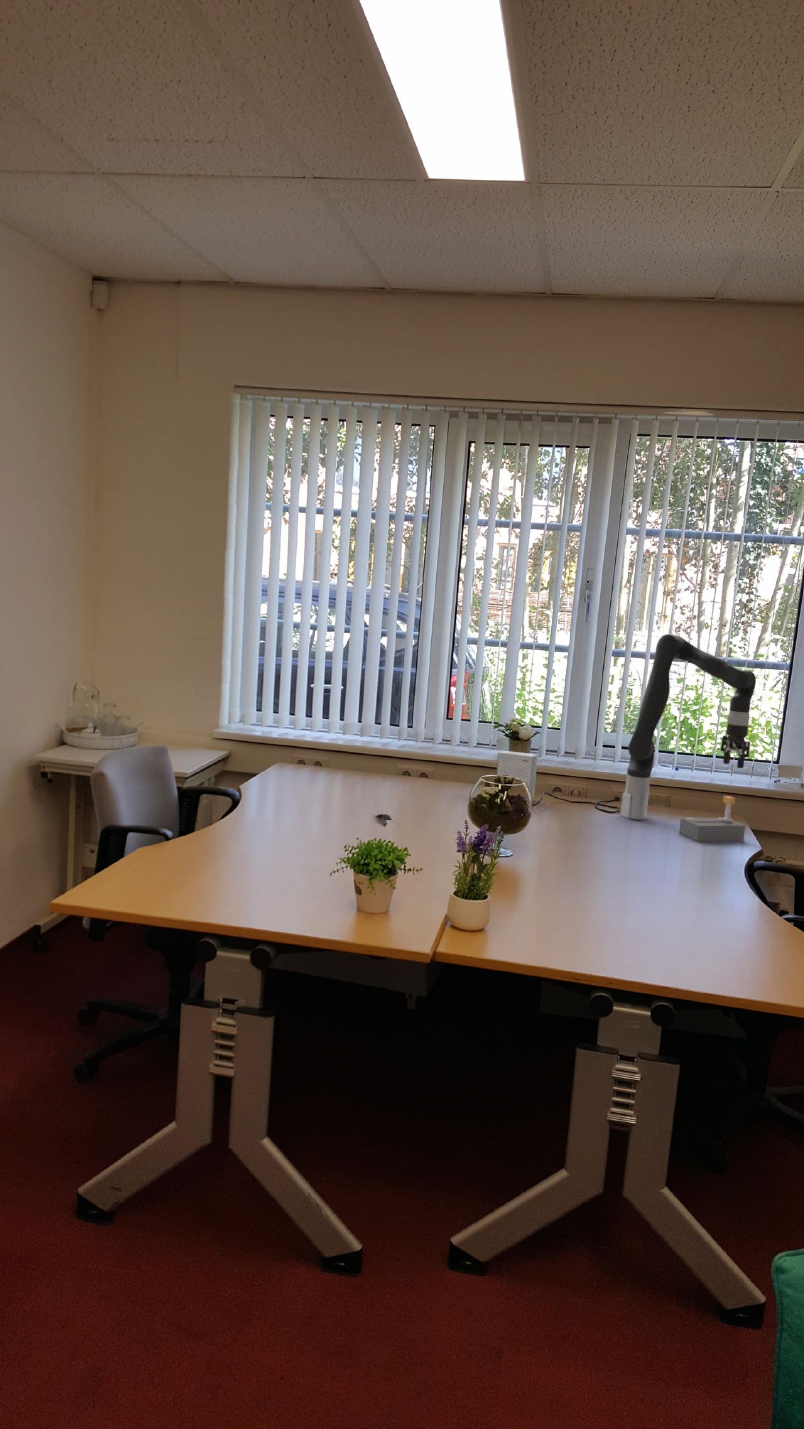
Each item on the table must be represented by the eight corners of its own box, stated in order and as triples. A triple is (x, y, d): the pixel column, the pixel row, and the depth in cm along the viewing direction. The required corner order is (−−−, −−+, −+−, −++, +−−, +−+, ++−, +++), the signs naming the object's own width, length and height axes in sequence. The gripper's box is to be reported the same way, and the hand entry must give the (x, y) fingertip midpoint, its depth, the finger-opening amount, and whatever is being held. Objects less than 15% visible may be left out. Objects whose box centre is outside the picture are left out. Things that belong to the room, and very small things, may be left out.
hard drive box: (534, 801, 408) (538, 754, 406) (529, 804, 401) (533, 757, 399) (499, 795, 415) (503, 749, 412) (493, 798, 408) (497, 752, 405)
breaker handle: (726, 822, 364) (729, 798, 363) (720, 820, 368) (722, 795, 367) (733, 822, 365) (736, 798, 364) (726, 820, 369) (729, 795, 368)
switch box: (697, 841, 357) (698, 825, 356) (679, 833, 369) (680, 817, 368) (743, 841, 363) (745, 825, 362) (724, 833, 374) (726, 817, 374)
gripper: (758, 726, 356) (753, 769, 358) (735, 720, 370) (730, 762, 372) (741, 725, 354) (735, 769, 356) (718, 720, 368) (713, 762, 370)
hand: (733, 765), depth 364 cm, fingers open, 8 cm apart
